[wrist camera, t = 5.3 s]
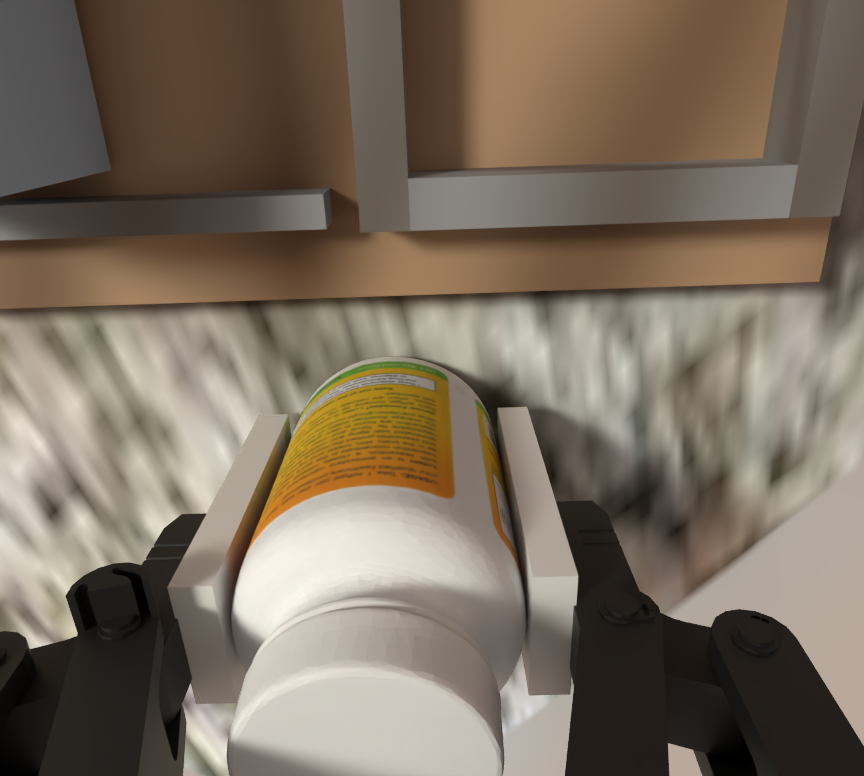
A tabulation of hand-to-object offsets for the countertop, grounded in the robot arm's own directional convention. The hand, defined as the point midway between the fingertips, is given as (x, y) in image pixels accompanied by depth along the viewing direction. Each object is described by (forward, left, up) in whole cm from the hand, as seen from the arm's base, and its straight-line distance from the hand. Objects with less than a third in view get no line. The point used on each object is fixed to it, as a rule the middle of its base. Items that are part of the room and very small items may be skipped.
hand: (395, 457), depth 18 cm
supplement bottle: (0, 0, -1) cm, 1 cm away
